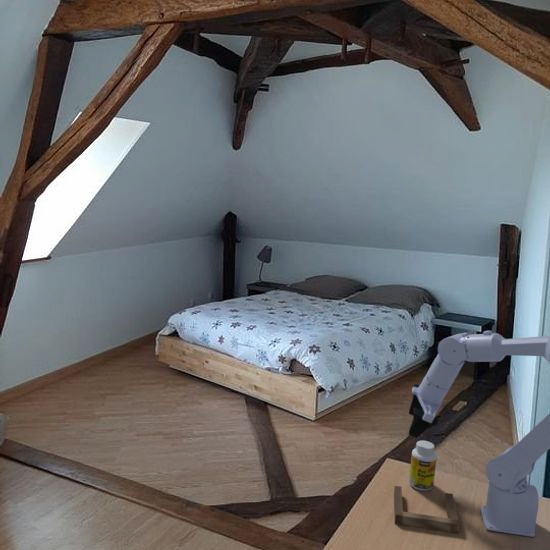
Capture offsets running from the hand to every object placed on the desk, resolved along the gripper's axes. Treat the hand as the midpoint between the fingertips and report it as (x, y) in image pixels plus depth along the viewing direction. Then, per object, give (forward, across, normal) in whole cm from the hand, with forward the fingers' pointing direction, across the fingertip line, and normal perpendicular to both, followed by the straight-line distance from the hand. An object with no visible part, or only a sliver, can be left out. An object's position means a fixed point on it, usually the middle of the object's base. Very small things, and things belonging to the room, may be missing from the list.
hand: (412, 424), depth 133 cm
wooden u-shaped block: (+8, +16, +6) cm, 19 cm away
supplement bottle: (+10, +6, +7) cm, 14 cm away
